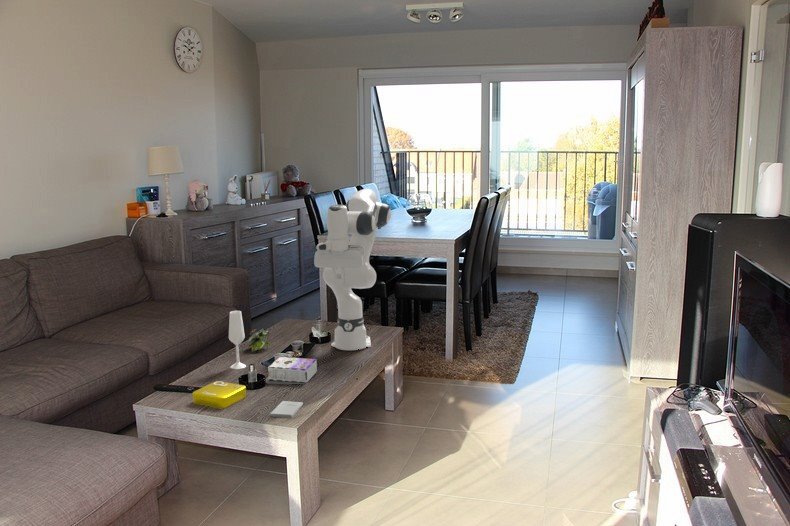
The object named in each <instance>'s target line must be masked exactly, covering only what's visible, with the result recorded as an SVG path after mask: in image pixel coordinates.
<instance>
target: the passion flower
mask: <svg viewBox="0 0 790 526" xmlns="http://www.w3.org/2000/svg"><path fill="white" fill-rule="evenodd" d="M257 330H258V329H257V328H256V329H253V330H250V333H249V335H250V337H249V338H248V340H247V344H248V348H249V347H251V352H252V353H254V352H256V351H257V350H261V349H262V348H263V347H264V346H266V349H268V350H269V347H271V344H270V343H269V342H268V341H269V337H270V331H269V330H267V331H265V330H264V328H262V329H259V330H258V331H257ZM266 336H267V338H266V340H264V338H265V337H266Z"/></svg>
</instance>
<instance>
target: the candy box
mask: <svg viewBox="0 0 790 526" xmlns="http://www.w3.org/2000/svg"><path fill="white" fill-rule="evenodd" d="M317 363H318V362H317V358H305V357H301V358H300V357H290V356H289V357H287V356H286V357H284V356H279V357H278V358H277V359H276V360H274V361H273V362H272V363H271V364H270V365H268V366H267V375H268V376H267V377H268V380H274V381H288V382H301V383H305V384H307V383H309V381H310V380H311V379H312V377H314V376H315V374H317V373H318V367H317V366H318V364H317Z"/></svg>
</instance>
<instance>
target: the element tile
mask: <svg viewBox="0 0 790 526" xmlns="http://www.w3.org/2000/svg"><path fill="white" fill-rule="evenodd" d="M244 397H245V398H246V397H247V387H246V385H244V384H238V383H231V382H227V381H226V382H224V381H220V380H216V381H213V382H211V383H209V384H207V385H205V386H203V387H201V388H199V389H196V390H194V391H193V392H192V404H194V403H195V404H194V405H198V404H200V405H199V406H203V405H206V406H205V407H208V406H210V408H214V407H215V408H214V409H220V408H222V409H226V408H228V407H231V406H232V405H234V404H236V403H238V402H239V401H241V400H243V399H245V398H244Z"/></svg>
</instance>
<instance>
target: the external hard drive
mask: <svg viewBox="0 0 790 526" xmlns="http://www.w3.org/2000/svg"><path fill="white" fill-rule="evenodd" d="M303 405H304V402H302V401H291V400H290V401H287V400H282V401H281V402H280V403H279V404H278V405H277V406H276V407H275V408H274V409H273V410H272V411H271V412H270V413H269V417H273V418H274V417H275V418H290V419H291V418H293V417H294V416H295V415H296V414H297V412H298V411H300V409H301V408H302V407H303Z"/></svg>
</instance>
